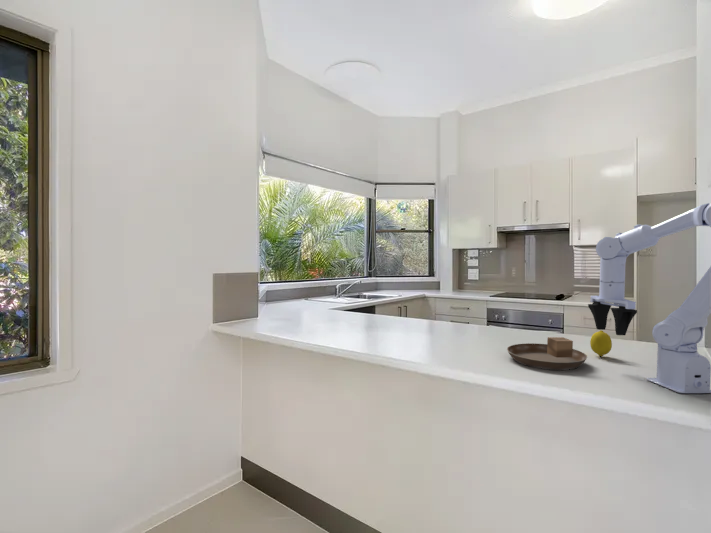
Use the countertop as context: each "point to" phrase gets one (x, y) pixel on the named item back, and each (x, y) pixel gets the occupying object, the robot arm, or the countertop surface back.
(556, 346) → the walnut block
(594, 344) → the lemon
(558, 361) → the plant saucer
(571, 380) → the countertop surface
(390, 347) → the countertop surface
